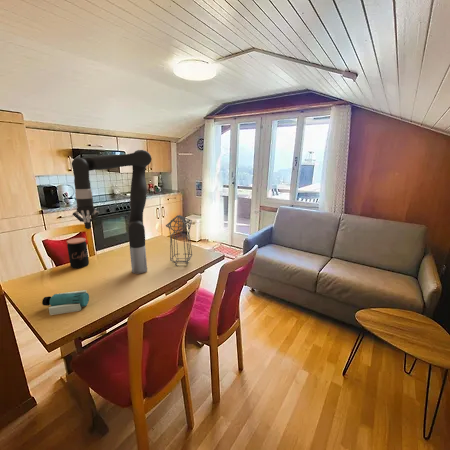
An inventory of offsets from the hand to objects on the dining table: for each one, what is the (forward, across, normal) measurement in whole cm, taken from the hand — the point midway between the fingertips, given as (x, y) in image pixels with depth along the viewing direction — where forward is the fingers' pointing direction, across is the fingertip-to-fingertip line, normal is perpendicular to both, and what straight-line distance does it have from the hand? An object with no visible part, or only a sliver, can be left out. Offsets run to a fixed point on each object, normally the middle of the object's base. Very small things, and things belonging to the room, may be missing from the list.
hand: (88, 228), depth 125 cm
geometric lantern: (+32, -51, -12) cm, 61 cm away
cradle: (+32, +7, +22) cm, 39 cm away
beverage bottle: (+28, -3, +26) cm, 38 cm away
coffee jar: (+32, +14, -27) cm, 44 cm away
